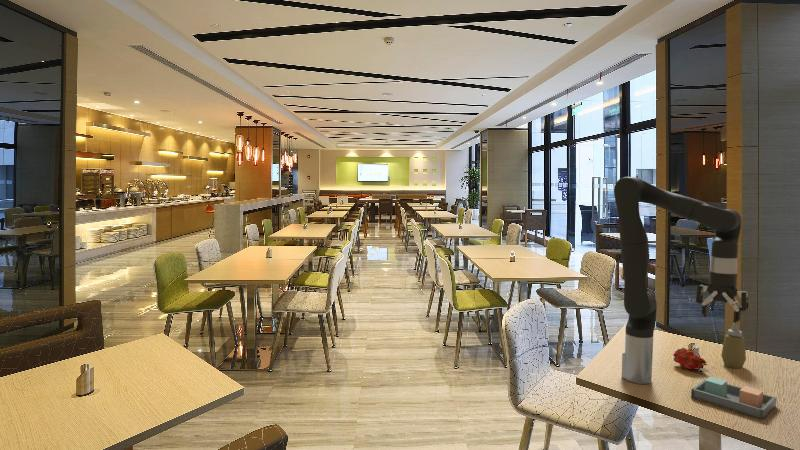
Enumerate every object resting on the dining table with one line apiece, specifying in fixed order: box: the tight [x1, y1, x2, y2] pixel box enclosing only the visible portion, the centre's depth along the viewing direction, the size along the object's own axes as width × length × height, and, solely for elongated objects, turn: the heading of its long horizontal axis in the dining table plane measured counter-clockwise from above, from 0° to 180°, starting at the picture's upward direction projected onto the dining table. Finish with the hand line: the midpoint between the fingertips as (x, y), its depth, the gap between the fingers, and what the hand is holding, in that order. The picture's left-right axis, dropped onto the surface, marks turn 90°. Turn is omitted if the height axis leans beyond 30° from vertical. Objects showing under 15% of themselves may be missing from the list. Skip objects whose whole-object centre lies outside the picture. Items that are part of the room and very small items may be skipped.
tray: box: [690, 377, 777, 421], centre depth 159 cm, size 20×14×3 cm
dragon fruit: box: [672, 347, 708, 372], centre depth 187 cm, size 8×8×12 cm
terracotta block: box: [739, 385, 764, 408], centre depth 155 cm, size 5×5×5 cm
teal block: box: [704, 376, 728, 398], centre depth 162 cm, size 5×5×5 cm
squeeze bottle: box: [721, 321, 747, 369], centre depth 189 cm, size 8×8×18 cm
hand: (720, 319), depth 157 cm, fingers open, 8 cm apart
